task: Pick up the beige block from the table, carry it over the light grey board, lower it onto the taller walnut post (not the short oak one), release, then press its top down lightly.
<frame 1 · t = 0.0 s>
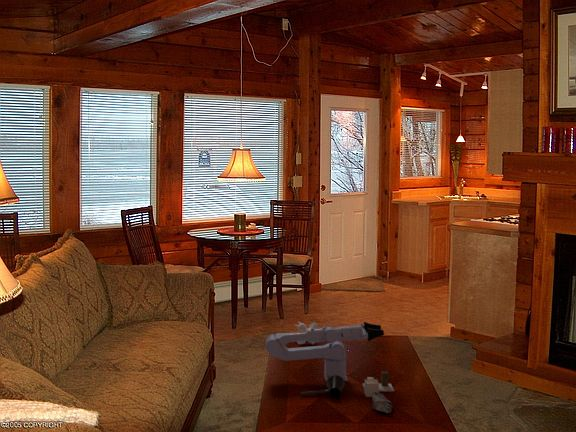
hand: (382, 330, 316), 22 cm above the table, tool horizontal, fingers open, 7 cm apart
grey board: (378, 388, 307), on the table
mineral rock: (381, 409, 285), on the table
character figurine: (307, 343, 370), on the table
walnut post: (384, 386, 309), resting on grey board
beige block: (371, 394, 299), on the table
coffee pot: (322, 395, 299), on the table
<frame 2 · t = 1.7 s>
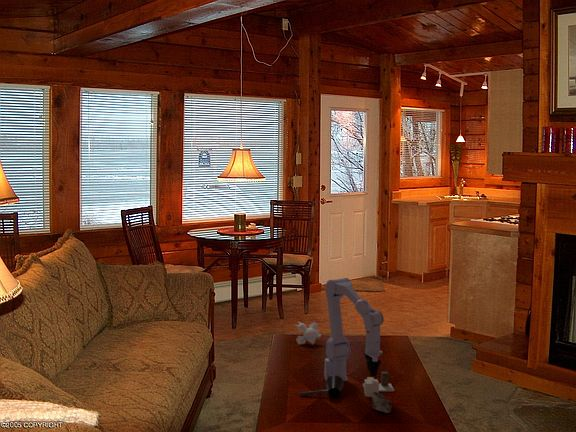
hand: (372, 373, 298), 9 cm above the table, tool pointing down, fingers open, 7 cm apart
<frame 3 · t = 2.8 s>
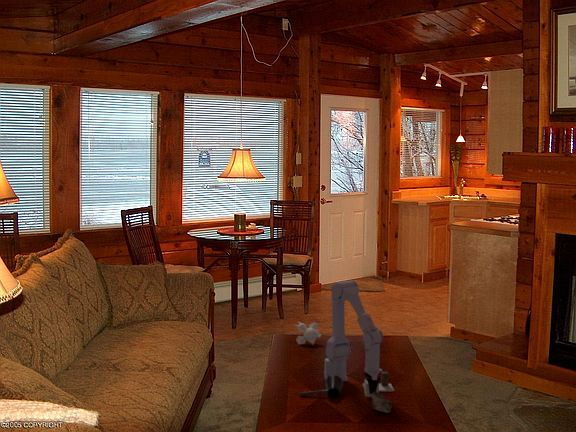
hand: (371, 391, 299), 1 cm above the table, tool pointing down, fingers closed on beige block, 5 cm apart
beige block: (371, 394, 299), on the table, touching gripper
everything else where it was.
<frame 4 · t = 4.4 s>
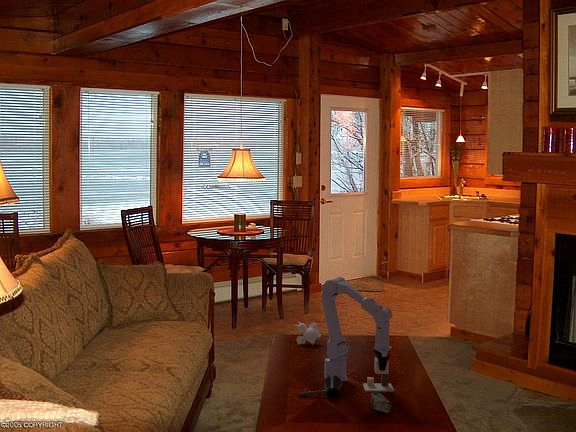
hand: (381, 368, 305), 9 cm above the table, tool pointing down, fingers closed on beige block, 5 cm apart
beige block: (381, 371, 305), point 7 cm above the table, touching gripper
when the fingers open (4 cm above the table, at t = 6.3 s): beige block drops 1 cm, resting on walnut post.
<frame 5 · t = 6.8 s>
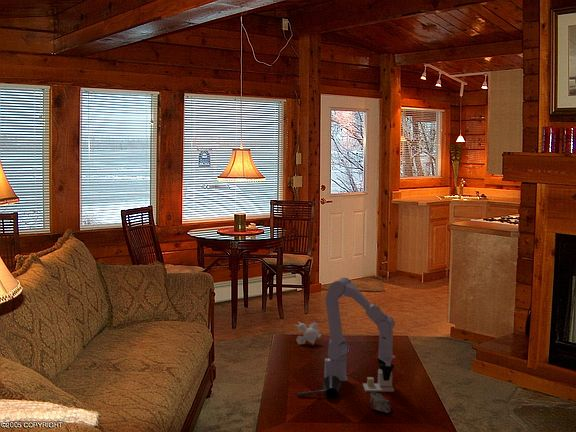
hand: (384, 377, 308), 4 cm above the table, tool pointing down, fingers open, 7 cm apart
beige block: (384, 383, 309), point 1 cm above the table, touching walnut post
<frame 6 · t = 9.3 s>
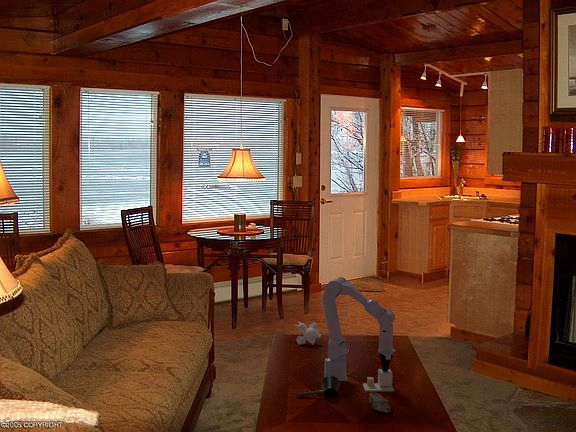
hand: (385, 370, 308), 7 cm above the table, tool pointing down, fingers closed
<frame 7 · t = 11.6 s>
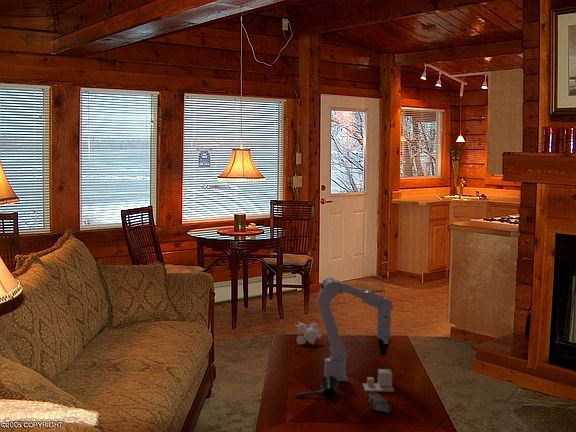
hand: (382, 355, 319), 10 cm above the table, tool pointing down, fingers closed
at the end: beige block 0.1 cm from the walnut post (horizontally); beige block point 1.1 cm above the table; beige block tilted 0° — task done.
